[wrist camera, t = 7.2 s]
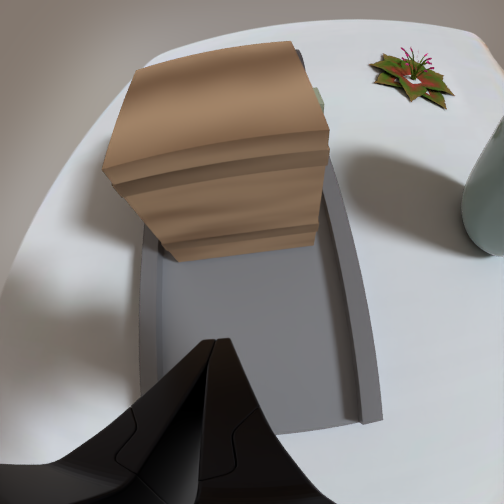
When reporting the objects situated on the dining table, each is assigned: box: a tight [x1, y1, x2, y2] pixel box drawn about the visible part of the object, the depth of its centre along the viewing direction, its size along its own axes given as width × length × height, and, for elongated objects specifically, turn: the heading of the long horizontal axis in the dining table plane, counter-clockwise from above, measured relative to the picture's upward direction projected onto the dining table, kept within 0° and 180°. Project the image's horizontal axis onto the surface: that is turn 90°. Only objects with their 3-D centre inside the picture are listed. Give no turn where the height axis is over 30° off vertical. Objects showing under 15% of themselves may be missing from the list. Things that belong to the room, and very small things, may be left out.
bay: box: [139, 49, 383, 435], centre depth 16 cm, size 24×14×9 cm, turn 5°
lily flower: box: [369, 47, 455, 109], centre depth 26 cm, size 12×12×5 cm
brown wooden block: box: [102, 41, 330, 262], centre depth 16 cm, size 8×9×10 cm
